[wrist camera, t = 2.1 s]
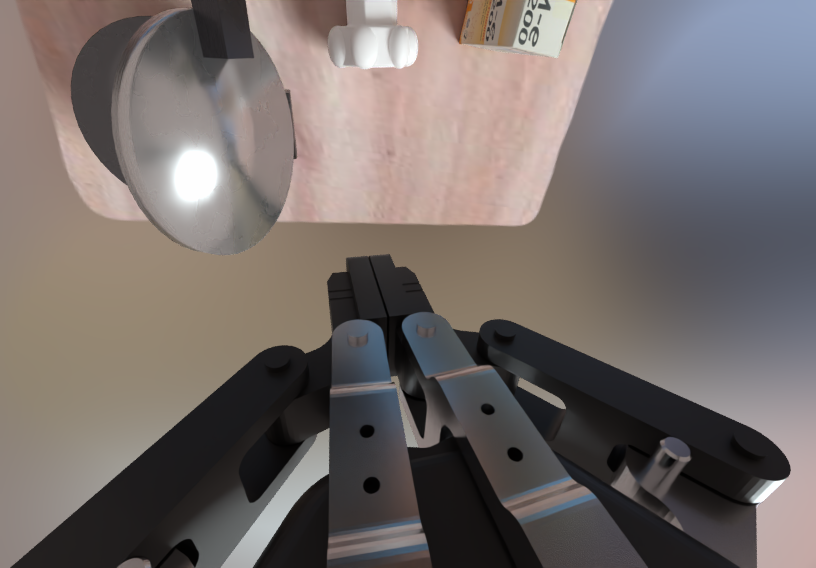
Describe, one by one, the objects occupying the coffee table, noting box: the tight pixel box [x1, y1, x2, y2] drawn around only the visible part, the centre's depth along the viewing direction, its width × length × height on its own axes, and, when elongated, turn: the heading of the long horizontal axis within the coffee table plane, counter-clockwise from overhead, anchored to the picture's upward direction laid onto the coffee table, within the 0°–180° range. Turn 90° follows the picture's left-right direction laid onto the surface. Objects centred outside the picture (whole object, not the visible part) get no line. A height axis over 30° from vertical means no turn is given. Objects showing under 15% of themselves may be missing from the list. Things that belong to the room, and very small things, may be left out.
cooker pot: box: [71, 16, 297, 185], centre depth 34 cm, size 15×16×11 cm
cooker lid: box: [111, 0, 297, 255], centre depth 23 cm, size 20×15×3 cm
